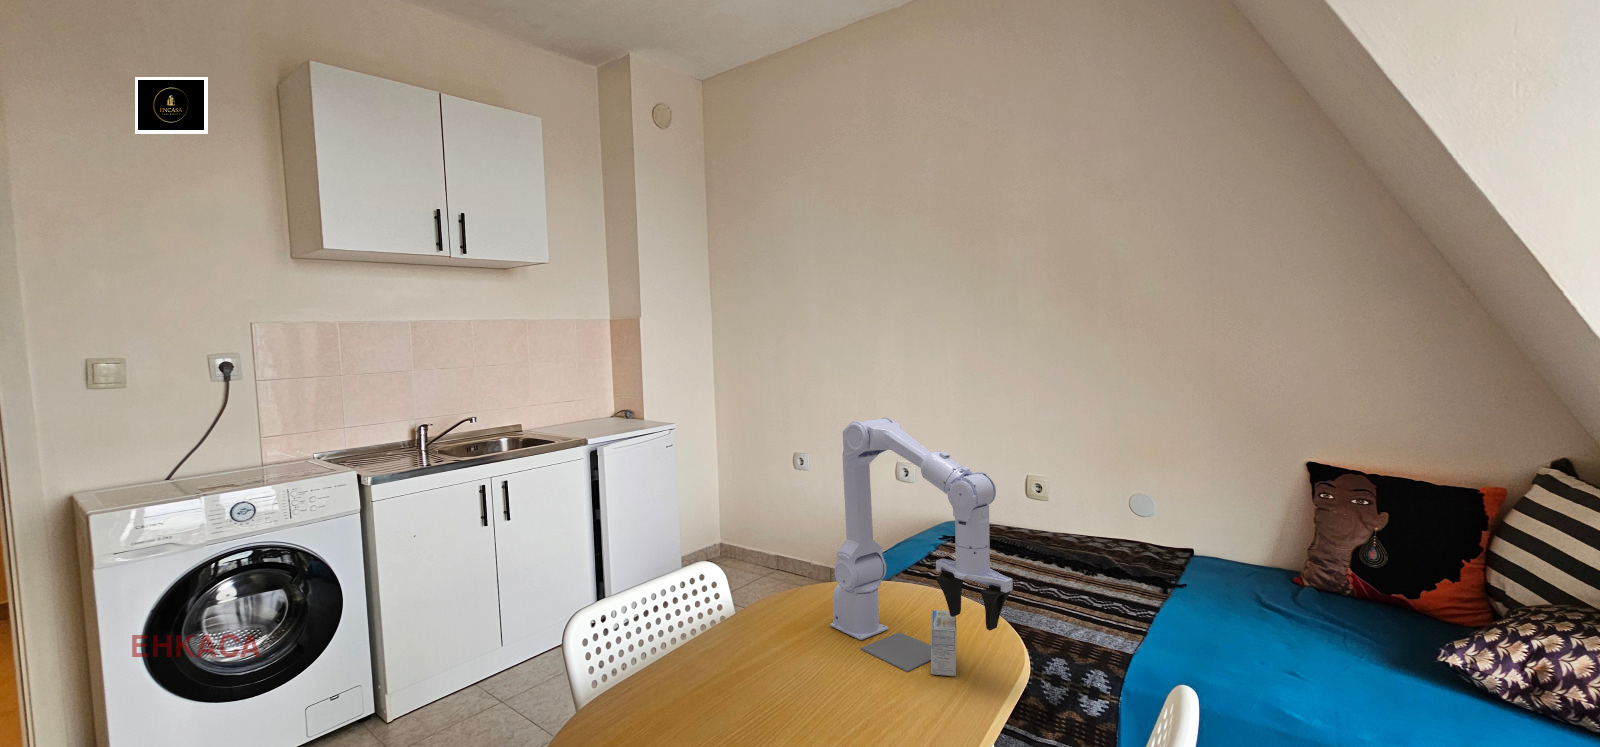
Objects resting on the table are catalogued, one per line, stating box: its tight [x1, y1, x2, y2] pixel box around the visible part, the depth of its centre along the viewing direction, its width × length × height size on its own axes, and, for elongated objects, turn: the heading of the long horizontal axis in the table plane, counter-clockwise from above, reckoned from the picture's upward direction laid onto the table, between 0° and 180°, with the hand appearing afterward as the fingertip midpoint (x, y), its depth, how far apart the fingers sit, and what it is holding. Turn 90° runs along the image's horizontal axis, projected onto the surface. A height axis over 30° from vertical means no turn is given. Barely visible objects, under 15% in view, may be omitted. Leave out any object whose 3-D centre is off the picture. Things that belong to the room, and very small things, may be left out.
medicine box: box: [930, 609, 957, 677], centre depth 123 cm, size 8×4×9 cm, turn 168°
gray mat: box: [860, 631, 931, 673], centre depth 129 cm, size 12×11×1 cm
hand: (973, 621), depth 117 cm, fingers open, 7 cm apart
